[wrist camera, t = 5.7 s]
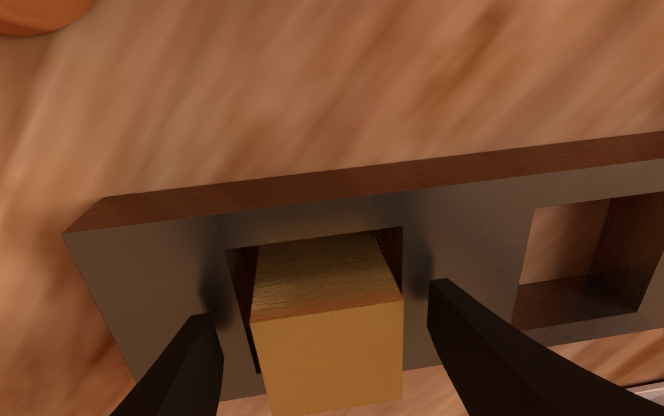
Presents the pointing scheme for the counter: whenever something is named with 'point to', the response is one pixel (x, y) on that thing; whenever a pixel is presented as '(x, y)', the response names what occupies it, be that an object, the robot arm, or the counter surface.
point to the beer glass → (39, 15)
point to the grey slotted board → (399, 246)
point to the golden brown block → (327, 324)
